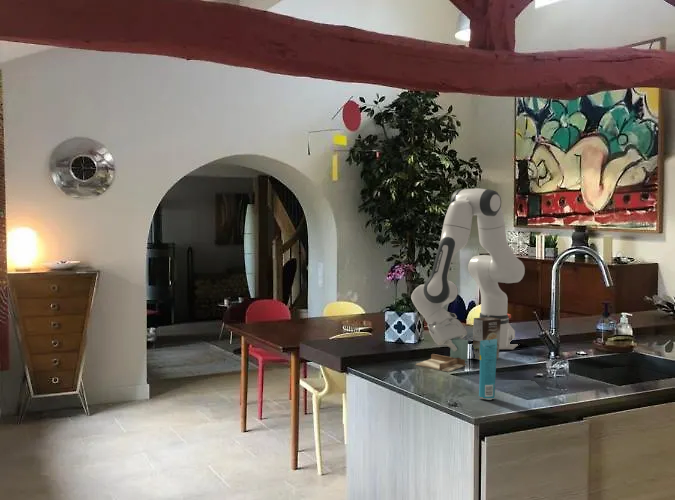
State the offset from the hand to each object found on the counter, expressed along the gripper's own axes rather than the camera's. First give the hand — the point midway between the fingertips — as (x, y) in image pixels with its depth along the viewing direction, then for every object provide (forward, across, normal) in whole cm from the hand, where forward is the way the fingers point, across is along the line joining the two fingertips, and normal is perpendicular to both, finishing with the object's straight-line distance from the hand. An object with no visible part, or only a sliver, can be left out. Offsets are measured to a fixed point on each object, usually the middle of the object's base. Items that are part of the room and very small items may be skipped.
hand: (460, 349), depth 280 cm
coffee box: (+7, +11, 0) cm, 13 cm away
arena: (+2, -12, +4) cm, 13 cm away
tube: (+26, -41, -19) cm, 52 cm away
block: (+3, 0, +4) cm, 5 cm away
